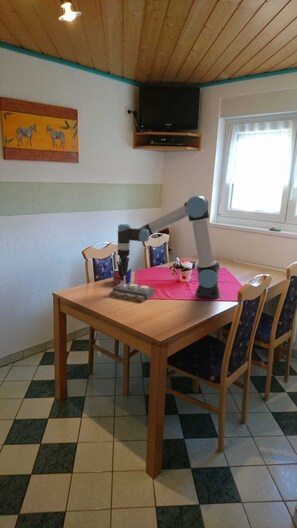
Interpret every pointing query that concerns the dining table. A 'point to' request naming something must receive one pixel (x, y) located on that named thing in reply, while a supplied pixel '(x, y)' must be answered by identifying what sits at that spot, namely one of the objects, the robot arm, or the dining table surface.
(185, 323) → the dining table surface
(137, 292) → the button panel
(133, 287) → the middle button
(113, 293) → the pattern sign
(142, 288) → the near button
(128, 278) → the puzzle cube
